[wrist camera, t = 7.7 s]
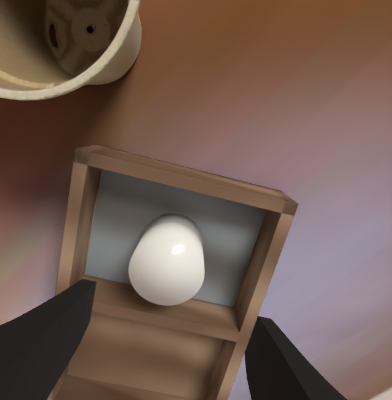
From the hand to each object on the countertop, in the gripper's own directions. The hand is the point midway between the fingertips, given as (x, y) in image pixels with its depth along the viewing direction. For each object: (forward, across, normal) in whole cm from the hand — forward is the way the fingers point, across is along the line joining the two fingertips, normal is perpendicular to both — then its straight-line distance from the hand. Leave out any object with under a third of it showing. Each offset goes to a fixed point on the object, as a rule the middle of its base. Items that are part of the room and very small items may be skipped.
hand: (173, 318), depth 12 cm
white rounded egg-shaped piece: (+8, +1, 0) cm, 9 cm away
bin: (+9, +1, +5) cm, 11 cm away
